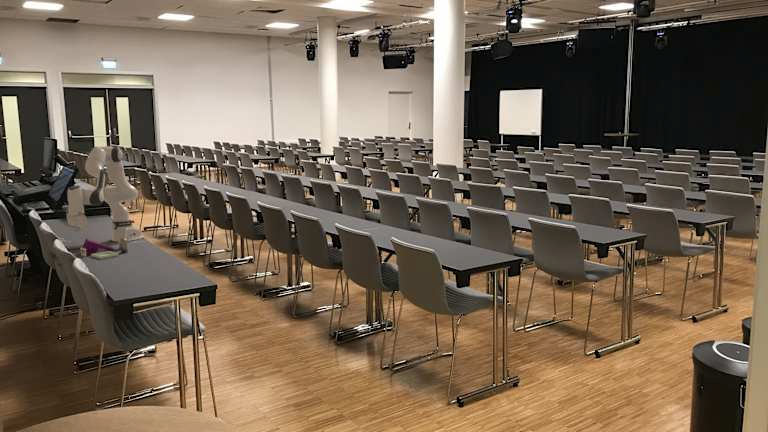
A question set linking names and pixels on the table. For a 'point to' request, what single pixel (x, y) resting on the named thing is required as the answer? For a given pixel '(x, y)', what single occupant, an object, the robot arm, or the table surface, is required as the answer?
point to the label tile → (83, 252)
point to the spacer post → (123, 245)
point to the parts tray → (104, 255)
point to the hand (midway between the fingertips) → (78, 233)
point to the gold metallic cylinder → (119, 242)
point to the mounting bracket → (95, 246)
